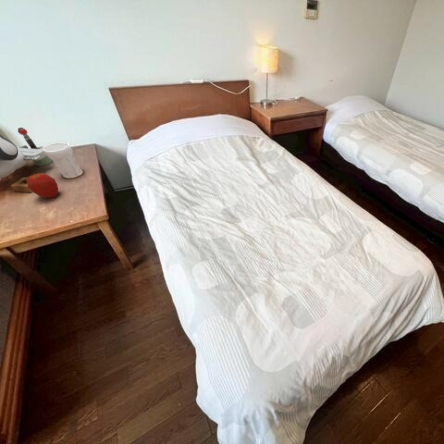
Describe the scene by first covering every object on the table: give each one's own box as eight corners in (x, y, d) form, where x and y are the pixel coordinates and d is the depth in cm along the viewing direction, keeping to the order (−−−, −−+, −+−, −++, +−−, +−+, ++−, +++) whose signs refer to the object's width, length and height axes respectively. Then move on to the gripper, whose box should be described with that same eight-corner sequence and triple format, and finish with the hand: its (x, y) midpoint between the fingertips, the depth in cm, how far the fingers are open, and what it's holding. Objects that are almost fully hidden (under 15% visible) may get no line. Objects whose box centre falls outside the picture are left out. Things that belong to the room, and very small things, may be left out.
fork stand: (15, 192, 128) (10, 185, 125) (28, 183, 134) (22, 177, 131) (32, 192, 129) (27, 186, 126) (43, 184, 135) (38, 178, 132)
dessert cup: (31, 164, 147) (22, 152, 142) (45, 158, 153) (37, 146, 147) (42, 167, 146) (33, 155, 140) (56, 161, 152) (48, 149, 146)
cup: (59, 173, 143) (40, 145, 131) (83, 167, 149) (66, 140, 137) (63, 182, 137) (43, 153, 125) (87, 175, 143) (70, 148, 131)
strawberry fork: (38, 162, 147) (14, 129, 133) (42, 159, 150) (19, 126, 136) (44, 163, 148) (21, 129, 134) (48, 160, 150) (26, 127, 136)
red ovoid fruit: (63, 188, 133) (47, 165, 124) (64, 198, 128) (47, 175, 118) (38, 194, 128) (20, 171, 119) (38, 204, 123) (19, 181, 113)
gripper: (31, 154, 132) (50, 143, 142) (-9, 152, 131) (12, 140, 141) (39, 165, 136) (56, 153, 146) (0, 162, 135) (20, 150, 145)
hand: (34, 147), depth 143 cm, fingers open, 8 cm apart
